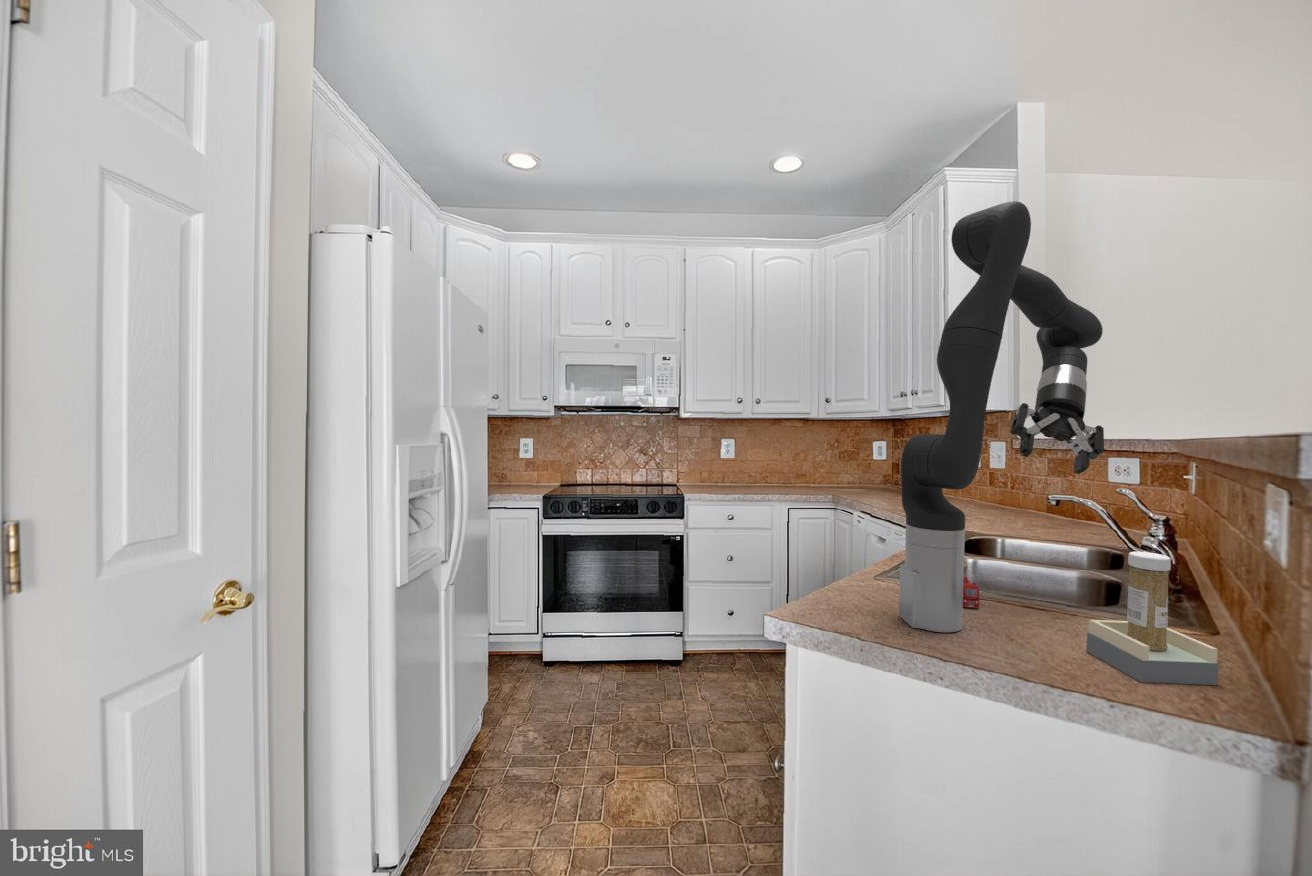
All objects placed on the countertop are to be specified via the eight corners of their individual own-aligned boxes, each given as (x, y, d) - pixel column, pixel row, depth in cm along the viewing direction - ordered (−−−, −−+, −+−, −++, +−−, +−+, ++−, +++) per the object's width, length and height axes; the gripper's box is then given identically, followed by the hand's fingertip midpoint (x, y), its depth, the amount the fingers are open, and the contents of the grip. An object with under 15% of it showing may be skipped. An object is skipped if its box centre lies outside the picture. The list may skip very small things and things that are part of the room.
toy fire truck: (962, 609, 103) (963, 558, 103) (939, 587, 116) (940, 543, 116) (981, 610, 102) (983, 559, 102) (956, 589, 116) (957, 544, 115)
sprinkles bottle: (1174, 654, 76) (1178, 559, 76) (1133, 649, 77) (1137, 555, 77) (1157, 642, 80) (1161, 552, 80) (1119, 637, 82) (1122, 549, 81)
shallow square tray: (1140, 682, 74) (1141, 645, 74) (1086, 651, 84) (1087, 619, 84) (1217, 685, 73) (1219, 648, 73) (1154, 653, 83) (1155, 621, 83)
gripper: (1031, 370, 102) (1020, 438, 94) (1116, 394, 98) (1112, 467, 90) (1010, 394, 108) (999, 459, 101) (1090, 417, 104) (1084, 487, 97)
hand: (1053, 463), depth 96 cm, fingers open, 8 cm apart
